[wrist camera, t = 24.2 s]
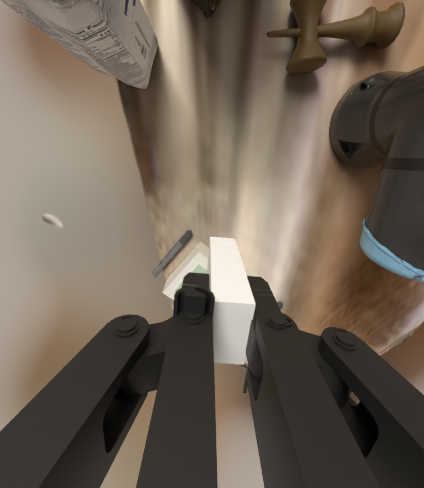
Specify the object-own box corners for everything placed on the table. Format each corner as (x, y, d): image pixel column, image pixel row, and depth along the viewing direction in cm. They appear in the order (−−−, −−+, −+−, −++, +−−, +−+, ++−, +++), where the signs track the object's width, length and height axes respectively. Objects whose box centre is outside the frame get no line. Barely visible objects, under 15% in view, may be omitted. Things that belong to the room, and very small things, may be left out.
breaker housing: (270, 296, 56) (278, 313, 50) (236, 327, 59) (240, 347, 53) (200, 241, 50) (198, 253, 44) (167, 278, 54) (161, 294, 47)
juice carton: (151, 98, 41) (58, 4, 16) (91, 72, 39) (-119, -77, 14) (166, 39, 38) (80, -196, 13) (101, 9, 36) (-141, -323, 11)
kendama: (375, 70, 40) (261, 78, 40) (385, -2, 37) (261, 7, 37) (404, 55, 35) (271, 64, 34) (418, -31, 31) (272, -22, 31)
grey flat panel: (283, 302, 56) (284, 306, 55) (244, 337, 60) (245, 341, 59) (188, 228, 49) (188, 230, 48) (151, 272, 53) (149, 275, 52)
